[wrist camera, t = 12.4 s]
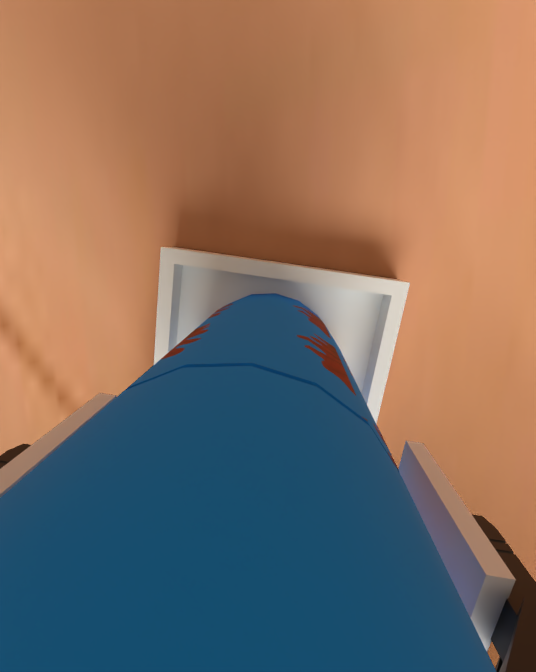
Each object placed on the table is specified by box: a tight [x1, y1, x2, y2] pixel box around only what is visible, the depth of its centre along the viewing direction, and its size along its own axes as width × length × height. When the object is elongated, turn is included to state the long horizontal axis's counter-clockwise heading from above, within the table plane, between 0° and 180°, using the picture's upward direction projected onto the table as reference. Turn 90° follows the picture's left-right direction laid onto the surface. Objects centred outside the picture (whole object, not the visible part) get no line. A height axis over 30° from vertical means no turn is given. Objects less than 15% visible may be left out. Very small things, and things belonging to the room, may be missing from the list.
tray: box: [154, 247, 410, 423], centre depth 27 cm, size 17×15×3 cm
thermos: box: [0, 293, 496, 672], centre depth 16 cm, size 11×11×25 cm
